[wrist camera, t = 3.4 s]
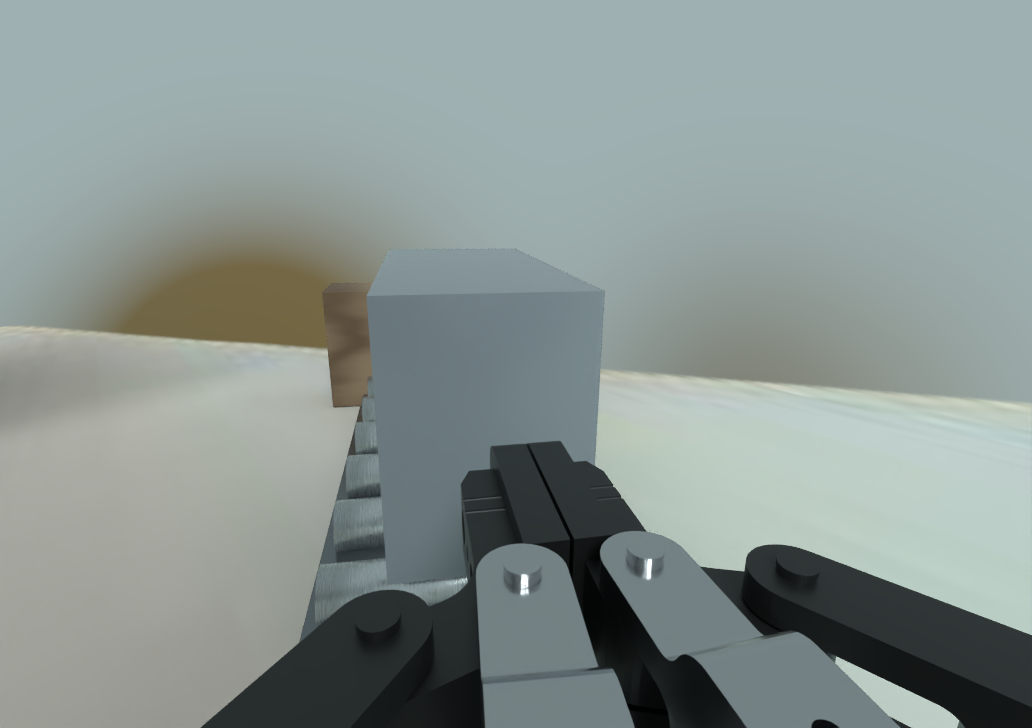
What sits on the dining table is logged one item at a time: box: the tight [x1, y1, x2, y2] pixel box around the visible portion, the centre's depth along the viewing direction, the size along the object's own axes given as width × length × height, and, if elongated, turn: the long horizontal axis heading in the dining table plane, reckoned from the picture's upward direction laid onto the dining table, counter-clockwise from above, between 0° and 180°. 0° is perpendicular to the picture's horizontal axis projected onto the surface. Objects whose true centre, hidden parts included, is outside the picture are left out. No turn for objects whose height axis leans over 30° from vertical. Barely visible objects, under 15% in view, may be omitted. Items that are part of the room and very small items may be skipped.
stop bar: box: [322, 283, 373, 407], centre depth 39 cm, size 16×4×8 cm, turn 100°
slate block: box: [367, 249, 605, 585], centre depth 22 cm, size 14×6×9 cm, turn 10°
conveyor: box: [299, 376, 468, 643], centre depth 27 cm, size 12×23×2 cm, turn 10°
